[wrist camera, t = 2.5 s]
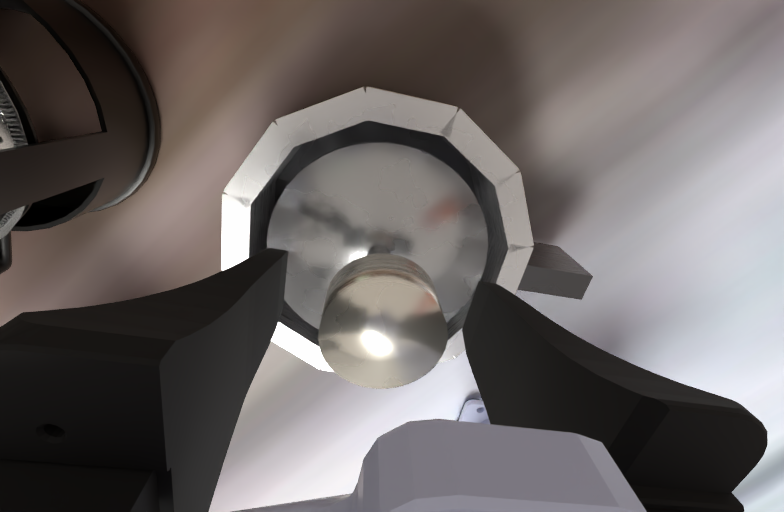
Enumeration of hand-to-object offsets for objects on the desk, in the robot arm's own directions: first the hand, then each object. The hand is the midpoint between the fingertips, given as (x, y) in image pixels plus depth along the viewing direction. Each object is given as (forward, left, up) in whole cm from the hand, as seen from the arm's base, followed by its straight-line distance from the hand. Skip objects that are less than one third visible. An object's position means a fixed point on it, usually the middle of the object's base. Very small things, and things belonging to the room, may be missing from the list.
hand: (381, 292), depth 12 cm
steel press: (-2, 0, -7) cm, 7 cm away
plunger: (0, 0, -4) cm, 4 cm away
